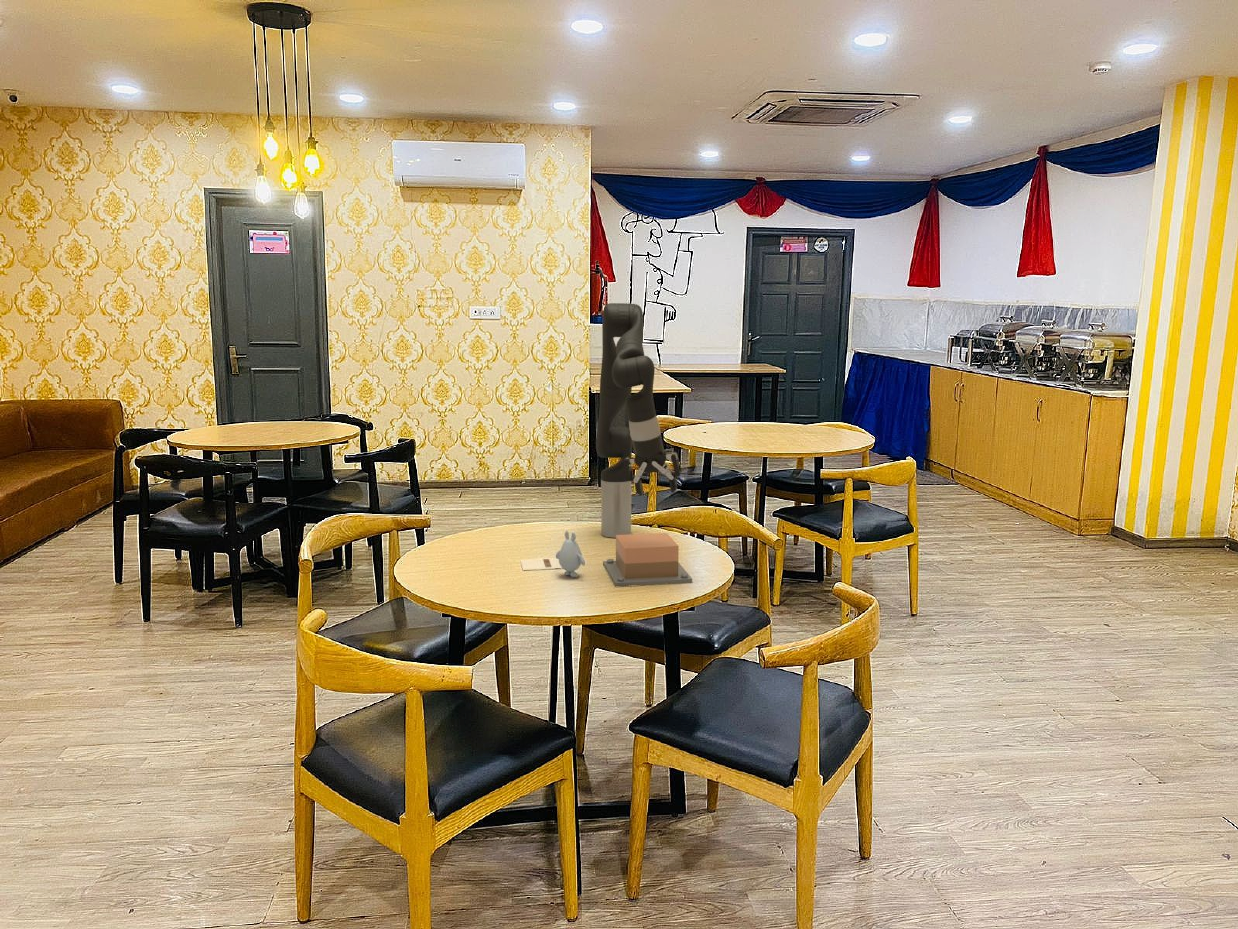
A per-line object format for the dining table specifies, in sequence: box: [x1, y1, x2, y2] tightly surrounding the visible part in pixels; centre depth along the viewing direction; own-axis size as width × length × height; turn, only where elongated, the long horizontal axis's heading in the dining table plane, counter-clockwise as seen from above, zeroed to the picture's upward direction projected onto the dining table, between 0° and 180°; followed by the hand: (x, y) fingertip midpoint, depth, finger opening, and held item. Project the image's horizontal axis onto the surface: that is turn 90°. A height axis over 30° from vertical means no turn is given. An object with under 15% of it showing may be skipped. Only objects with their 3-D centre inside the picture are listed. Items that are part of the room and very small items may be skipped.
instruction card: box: [520, 557, 562, 572], centre depth 252 cm, size 10×14×1 cm
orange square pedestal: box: [602, 532, 693, 588], centre depth 242 cm, size 20×20×9 cm
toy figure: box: [555, 530, 586, 578], centre depth 240 cm, size 11×6×12 cm, turn 48°
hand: (657, 493), depth 237 cm, fingers open, 8 cm apart
